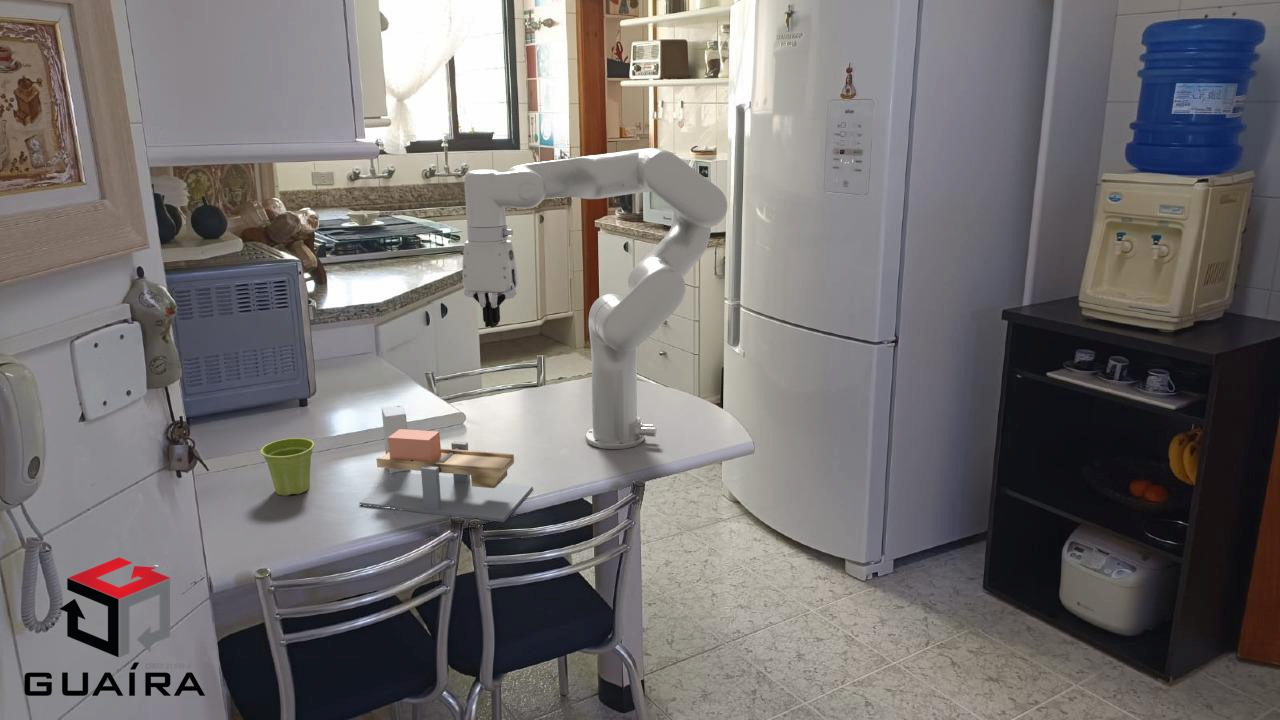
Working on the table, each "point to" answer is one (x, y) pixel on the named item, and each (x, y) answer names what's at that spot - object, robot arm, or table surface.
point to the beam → (461, 465)
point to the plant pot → (289, 464)
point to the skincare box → (393, 425)
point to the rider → (414, 445)
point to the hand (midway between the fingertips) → (492, 325)
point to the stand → (447, 494)
